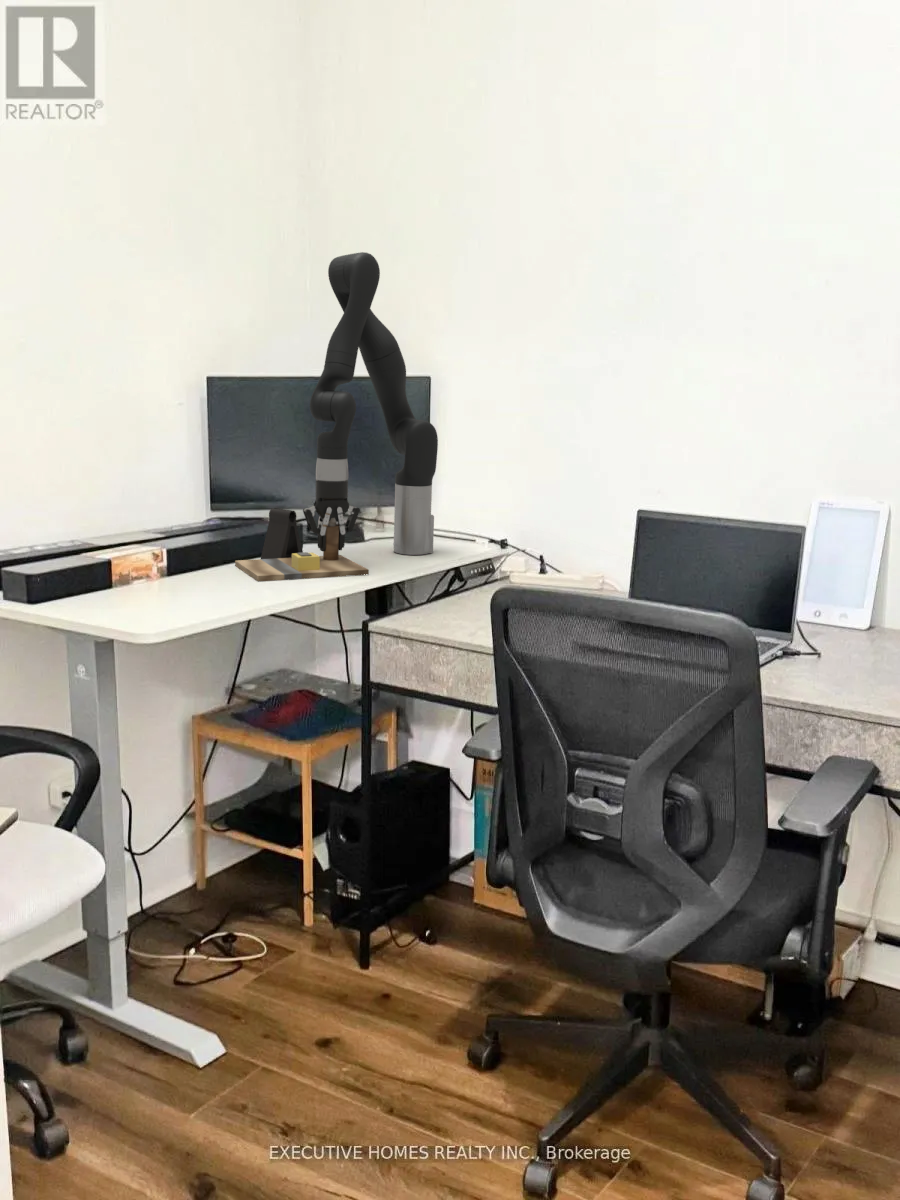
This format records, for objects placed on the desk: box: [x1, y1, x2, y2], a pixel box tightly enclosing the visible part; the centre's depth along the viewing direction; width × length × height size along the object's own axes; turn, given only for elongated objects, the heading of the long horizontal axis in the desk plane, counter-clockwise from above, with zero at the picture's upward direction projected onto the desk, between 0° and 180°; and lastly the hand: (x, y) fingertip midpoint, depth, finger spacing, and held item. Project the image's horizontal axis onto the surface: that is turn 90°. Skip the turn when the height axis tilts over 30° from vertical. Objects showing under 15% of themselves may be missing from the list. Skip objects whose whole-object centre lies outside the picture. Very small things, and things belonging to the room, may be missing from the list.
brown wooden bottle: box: [322, 518, 340, 560], centre depth 275 cm, size 4×4×10 cm
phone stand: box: [260, 507, 304, 559], centre depth 279 cm, size 9×6×12 cm, turn 148°
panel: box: [234, 554, 370, 582], centre depth 268 cm, size 26×18×1 cm
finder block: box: [292, 551, 321, 571], centre depth 264 cm, size 5×5×3 cm
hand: (330, 549), depth 276 cm, fingers closed on brown wooden bottle, 3 cm apart
